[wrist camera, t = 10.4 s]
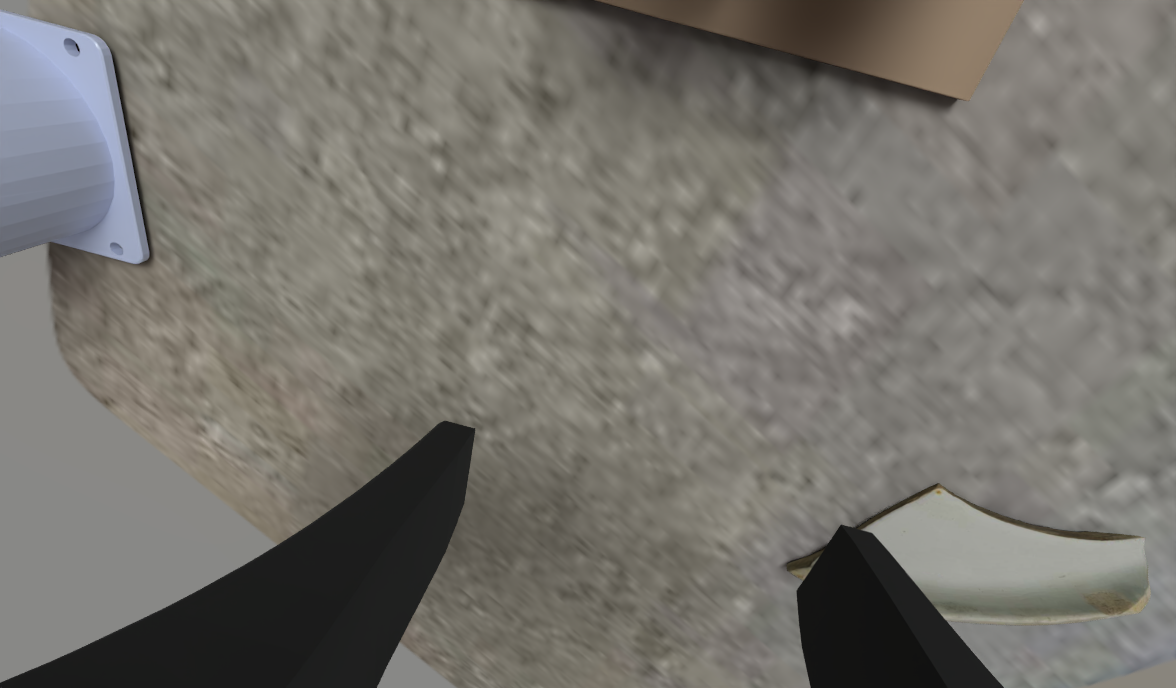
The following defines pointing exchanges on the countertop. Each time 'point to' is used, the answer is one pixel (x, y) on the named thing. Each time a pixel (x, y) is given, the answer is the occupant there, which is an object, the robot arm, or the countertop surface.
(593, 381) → the countertop surface
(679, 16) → the frame
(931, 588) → the ceramic fragment
